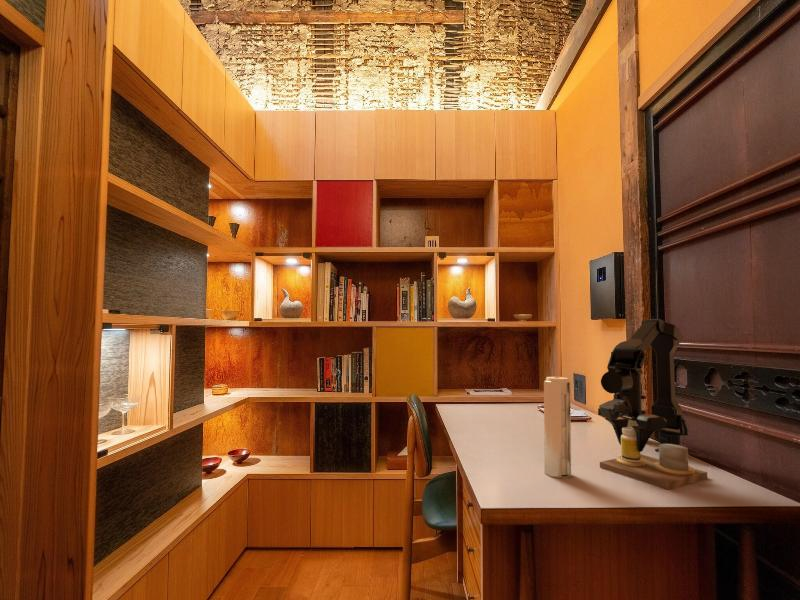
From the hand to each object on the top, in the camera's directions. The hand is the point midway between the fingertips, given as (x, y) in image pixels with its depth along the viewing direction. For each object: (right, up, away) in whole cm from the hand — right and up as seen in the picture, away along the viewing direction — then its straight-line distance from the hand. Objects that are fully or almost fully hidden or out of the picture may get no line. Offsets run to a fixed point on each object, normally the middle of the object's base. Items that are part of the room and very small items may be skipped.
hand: (630, 448), depth 115 cm
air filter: (-22, -5, -6) cm, 23 cm away
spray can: (+18, -8, +32) cm, 38 cm away
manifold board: (+4, -5, -3) cm, 7 cm away
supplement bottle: (0, -3, 0) cm, 3 cm away
